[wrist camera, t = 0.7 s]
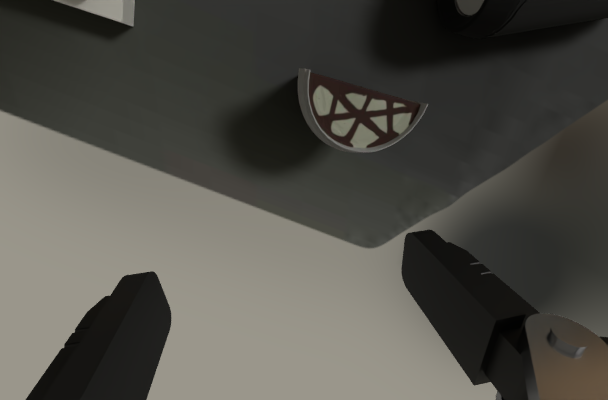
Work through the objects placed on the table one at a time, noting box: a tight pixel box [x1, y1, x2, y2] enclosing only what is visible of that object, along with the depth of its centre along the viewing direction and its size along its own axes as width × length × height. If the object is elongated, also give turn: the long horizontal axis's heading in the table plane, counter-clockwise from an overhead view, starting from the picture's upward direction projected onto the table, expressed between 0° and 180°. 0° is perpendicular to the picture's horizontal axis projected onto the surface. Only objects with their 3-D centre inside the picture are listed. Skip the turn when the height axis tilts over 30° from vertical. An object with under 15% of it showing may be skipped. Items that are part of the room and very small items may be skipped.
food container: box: [298, 68, 428, 153], centre depth 29 cm, size 12×6×10 cm, turn 76°
